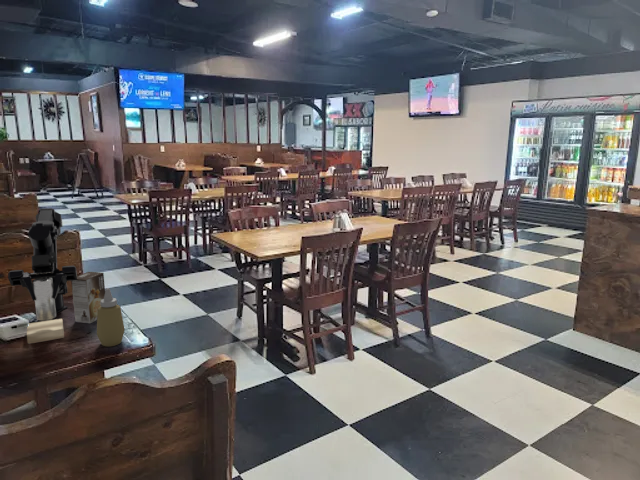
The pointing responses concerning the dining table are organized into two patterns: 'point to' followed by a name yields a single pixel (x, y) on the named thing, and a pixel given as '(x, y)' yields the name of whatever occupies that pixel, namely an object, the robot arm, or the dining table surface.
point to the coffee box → (87, 296)
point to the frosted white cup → (44, 298)
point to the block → (45, 331)
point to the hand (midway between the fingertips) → (44, 299)
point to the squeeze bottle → (109, 321)
